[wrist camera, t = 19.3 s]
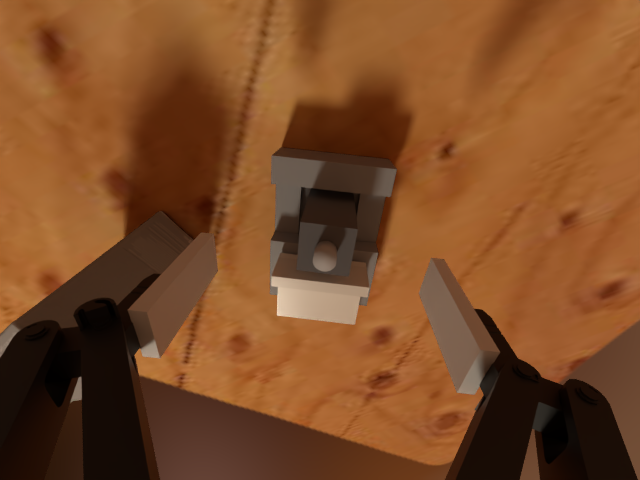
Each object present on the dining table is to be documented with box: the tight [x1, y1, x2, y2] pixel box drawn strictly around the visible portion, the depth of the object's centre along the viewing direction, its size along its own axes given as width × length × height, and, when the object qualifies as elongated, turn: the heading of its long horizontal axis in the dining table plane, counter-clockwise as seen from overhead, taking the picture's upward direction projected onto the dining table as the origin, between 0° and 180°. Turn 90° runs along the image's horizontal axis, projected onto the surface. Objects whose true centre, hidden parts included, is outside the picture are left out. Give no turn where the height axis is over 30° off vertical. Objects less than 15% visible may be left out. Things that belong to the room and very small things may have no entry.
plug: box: [296, 188, 358, 277], centre depth 23 cm, size 4×4×10 cm
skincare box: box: [0, 211, 193, 403], centre depth 25 cm, size 8×7×16 cm
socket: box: [270, 147, 397, 306], centre depth 27 cm, size 14×10×4 cm
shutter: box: [271, 253, 370, 325], centre depth 26 cm, size 7×8×4 cm
